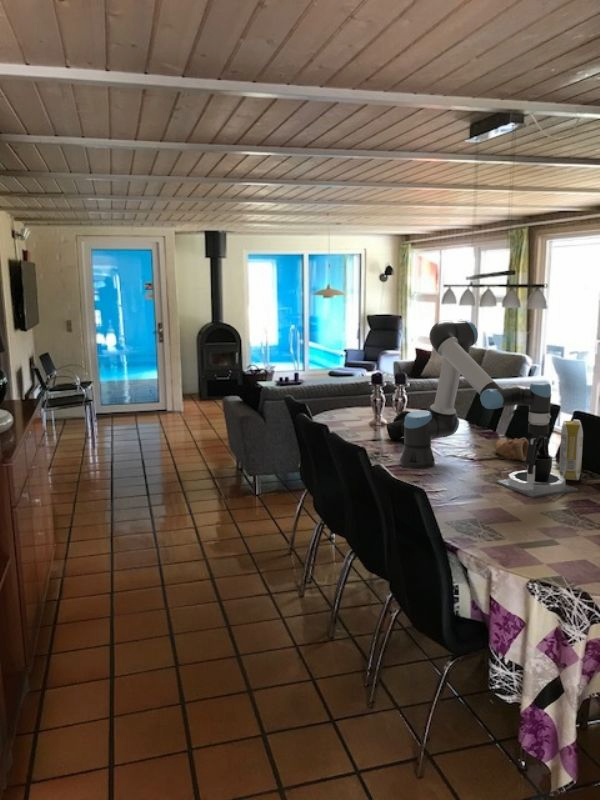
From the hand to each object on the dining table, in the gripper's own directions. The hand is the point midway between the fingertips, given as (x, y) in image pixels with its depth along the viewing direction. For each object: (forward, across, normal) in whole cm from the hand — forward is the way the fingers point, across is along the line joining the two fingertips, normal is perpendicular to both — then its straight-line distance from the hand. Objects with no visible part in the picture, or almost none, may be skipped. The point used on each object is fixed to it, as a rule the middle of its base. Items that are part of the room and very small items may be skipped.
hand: (536, 478), depth 244 cm
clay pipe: (+4, +38, +24) cm, 46 cm away
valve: (+4, +39, +77) cm, 86 cm away
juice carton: (+4, +21, -6) cm, 22 cm away
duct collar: (+3, 0, 0) cm, 3 cm away
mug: (+1, 0, 0) cm, 1 cm away
